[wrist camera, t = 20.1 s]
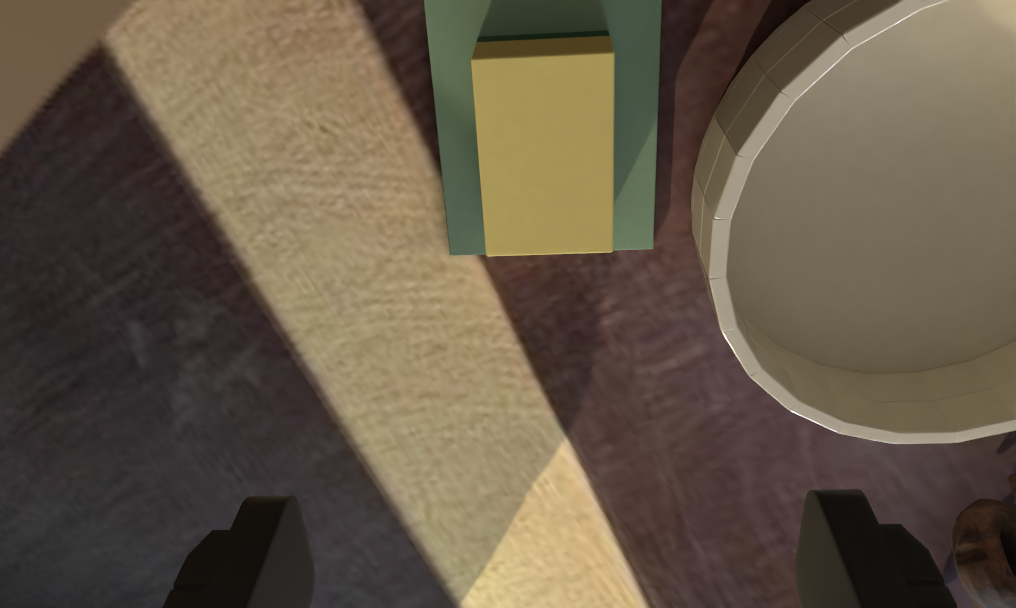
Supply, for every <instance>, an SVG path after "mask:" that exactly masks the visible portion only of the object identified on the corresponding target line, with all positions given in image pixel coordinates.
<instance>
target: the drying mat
mask: <svg viewBox="0 0 1016 608" xmlns="http://www.w3.org/2000/svg"><path fill="white" fill-rule="evenodd" d="M424 6H425V15H426V25H427V35H428V44H429V54H430V64H431V74H432V83H433V93H434V103H435V113H436V122H437V132H438V142H439V151H440V161H441V171H442V181H443V190H444V200H445V210H446V220H447V229H448V239H449V249H450V255H478V254H486V246H485V234H484V221H483V208H482V195H481V182H480V170H479V157H478V144H477V131H476V118H475V106H474V93H473V80H472V67H471V58H472V55H473V52H474V49H475V45H476V41H477V38H478V37H483V36H503V35H523V34H544V33H564V32H585V31H605V30H608V31H609V34H610V38H611V42H612V45H613V49H614V52H615V87H614V210H613V250H631V249H653V240H654V212H655V183H656V154H657V126H658V97H659V69H660V40H661V12H662V0H424Z"/></svg>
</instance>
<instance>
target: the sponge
mask: <svg viewBox="0 0 1016 608" xmlns="http://www.w3.org/2000/svg"><path fill="white" fill-rule="evenodd" d="M471 67H472V80H473V93H474V106H475V118H476V131H477V144H478V157H479V170H480V182H481V195H482V208H483V221H484V234H485V246H486V255H487V256H512V255H543V254H574V253H604V252H613V210H614V87H615V52H614V49H613V45H612V42H611V38H610V34H609V31H608V30H605V31H585V32H564V33H544V34H523V35H503V36H483V37H478V38H477V41H476V45H475V49H474V52H473V55H472V58H471Z"/></svg>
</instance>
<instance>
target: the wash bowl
mask: <svg viewBox="0 0 1016 608" xmlns="http://www.w3.org/2000/svg"><path fill="white" fill-rule="evenodd" d="M691 224H692V231H693V232H692V234H693V238H694V243H695V249H696V252H697V255H698V258H699V263H700V267H701V271H702V275H703V279H704V282H705V285H706V288H707V291H708V294H709V297H710V300H711V302H712V306H713V309H714V312H715V315H716V317H717V320H718V323H719V326H720V329H721V331H722V334H723V335H724V337H725V339H726V340H727V342H728V343H729V345H730V347H731V348H732V350H733V352H734V353H735V355H736V356H737V358H738V360H739V361H740V363H741V365H742V366H743V368H744V369H745V371H746V373H747V374H748V375H749V376H750V378H752V379H753V380H754V381H755V382H756V383H757V384H759V385H760V386H761V387H762V388H763V389H764V390H766V391H767V392H768V393H769V394H770V395H771V396H773V397H774V398H775V399H776V400H777V401H778V402H780V403H781V404H782V405H783V406H784V407H785V408H787V409H788V410H790V411H791V412H794V413H796V414H798V415H800V416H802V417H804V418H807V419H809V420H811V421H813V422H815V423H817V424H820V425H822V426H824V427H826V428H828V429H830V430H833V431H835V432H838V433H839V434H844V435H849V436H855V437H860V438H865V439H870V440H875V441H880V442H885V443H891V444H894V443H895V444H920V443H954V442H956V443H958V442H962V441H967V440H972V439H977V438H982V437H986V436H991V435H996V434H1001V433H1006V432H1010V431H1015V430H1016V0H811V1H810V2H808V3H807V4H805V5H804V6H802V7H801V8H800V9H799V10H798V11H797V12H795V13H794V14H793V15H792V16H791V17H790V18H788V19H787V20H786V21H785V22H784V23H783V24H781V25H780V26H779V27H778V28H777V29H776V30H775V31H774V32H773V33H772V34H771V35H770V36H769V37H768V38H767V39H766V40H765V41H764V42H763V43H762V45H761V46H760V47H759V48H758V49H757V50H756V51H755V52H754V53H753V54H752V55H751V56H750V58H749V59H748V61H747V62H746V63H745V65H744V66H743V67H742V69H741V70H740V71H739V73H738V74H737V75H736V77H735V78H734V80H733V81H732V82H731V84H730V85H729V87H728V89H727V91H726V92H725V94H724V96H723V98H722V100H721V101H720V103H719V105H718V107H717V108H716V110H715V112H714V114H713V117H712V119H711V121H710V124H709V126H708V129H707V131H706V133H705V136H704V138H703V141H702V144H701V148H700V152H699V155H698V159H697V163H696V167H695V171H694V179H693V187H692V194H691Z"/></svg>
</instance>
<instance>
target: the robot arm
mask: <svg viewBox="0 0 1016 608" xmlns="http://www.w3.org/2000/svg"><path fill="white" fill-rule="evenodd" d="M795 578H796V587H797V593H798V597H799V601H800V604H801V607H802V608H957V604H956V602H955V600H954V599H953V597H952V595H951V593H950V591H949V589H948V587H945V585H944V579H943V577H942V576H941V574H940V572H939V570H938V568H937V566H936V564H935V562H934V560H933V558H932V556H931V554H930V552H929V551H928V549H926V548H925V547H924V546H923V545H922V544H921V543H920V542H919V541H918V540H917V539H916V538H915V537H914V536H913V535H912V534H910V533H909V532H908V531H907V530H906V529H905V528H904V527H903V526H902V525H901V524H879V523H878V521H877V519H876V517H875V515H874V513H873V511H872V508H871V506H870V504H869V502H868V500H867V498H866V496H865V495H864V493H863V492H862V491H861V490H810V491H808V493H807V495H806V499H805V504H804V510H803V516H802V522H801V528H800V534H799V540H798V546H797V553H796V559H795ZM314 579H315V573H314V563H313V558H312V554H311V550H310V546H309V542H308V538H307V534H306V530H305V526H304V522H303V518H302V514H301V510H300V506H299V502H298V500H297V498H296V497H294V496H254V497H247V498H246V499H245V500H244V501H243V503H242V505H241V507H240V509H239V511H238V513H237V516H236V518H235V520H234V522H233V525H232V527H231V529H230V530H212V531H211V532H210V533H209V534H208V535H207V536H206V537H205V538H204V539H203V540H202V541H201V542H200V543H199V544H198V545H197V546H196V547H195V549H194V550H193V551H192V552H191V553H190V554H189V555H188V556H187V558H186V560H185V562H184V564H183V566H182V568H181V570H180V572H179V574H178V576H177V578H176V580H175V582H174V588H173V590H171V591H170V593H169V595H168V597H167V599H166V601H165V603H164V605H163V607H162V608H310V606H311V602H312V598H313V592H314Z"/></svg>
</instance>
